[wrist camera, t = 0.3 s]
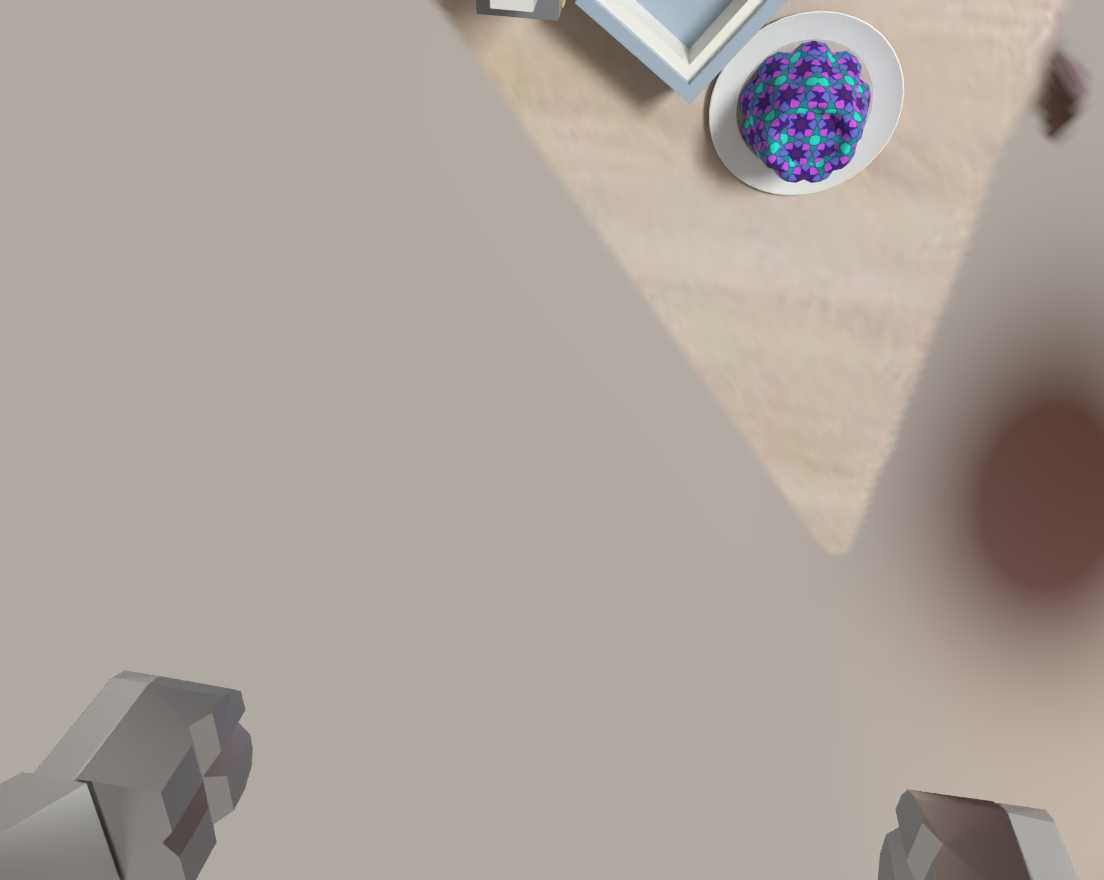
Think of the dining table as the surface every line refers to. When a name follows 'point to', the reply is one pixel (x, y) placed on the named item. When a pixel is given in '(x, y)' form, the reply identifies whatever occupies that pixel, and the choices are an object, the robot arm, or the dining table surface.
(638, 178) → the dining table surface
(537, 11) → the grey bottle
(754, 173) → the pudding
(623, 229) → the dining table surface
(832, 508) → the dining table surface
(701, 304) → the dining table surface
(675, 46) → the walled box
